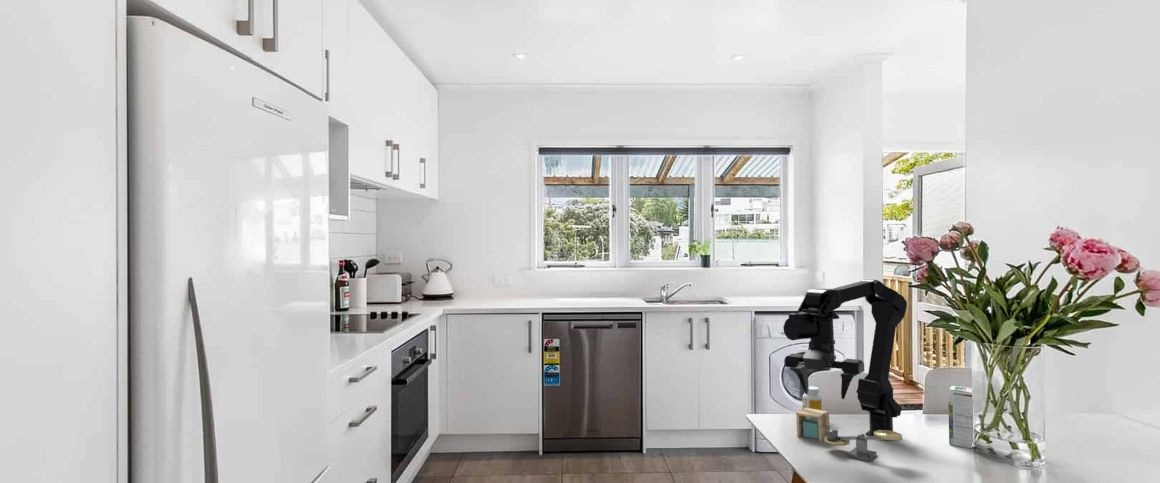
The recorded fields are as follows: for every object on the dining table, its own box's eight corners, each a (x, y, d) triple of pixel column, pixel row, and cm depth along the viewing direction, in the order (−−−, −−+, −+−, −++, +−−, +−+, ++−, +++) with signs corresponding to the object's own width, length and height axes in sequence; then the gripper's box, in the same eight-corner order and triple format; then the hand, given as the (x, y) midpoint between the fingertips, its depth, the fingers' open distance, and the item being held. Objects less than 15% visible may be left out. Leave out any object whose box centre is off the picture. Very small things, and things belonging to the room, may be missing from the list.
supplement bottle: (799, 419, 170) (798, 387, 170) (808, 415, 173) (807, 384, 173) (816, 423, 165) (815, 390, 166) (825, 419, 169) (824, 387, 169)
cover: (806, 430, 159) (805, 407, 159) (829, 435, 154) (829, 411, 154) (797, 436, 154) (796, 412, 154) (821, 441, 150) (820, 416, 150)
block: (809, 432, 157) (808, 418, 157) (823, 435, 154) (823, 421, 154) (803, 436, 154) (802, 421, 154) (818, 439, 151) (817, 424, 151)
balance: (829, 444, 146) (828, 419, 147) (906, 461, 134) (905, 433, 134) (820, 450, 142) (819, 424, 142) (899, 468, 130) (898, 439, 130)
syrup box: (951, 439, 149) (949, 385, 150) (978, 443, 146) (976, 388, 146) (949, 445, 145) (947, 389, 145) (976, 449, 141) (974, 392, 141)
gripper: (775, 338, 147) (777, 397, 146) (850, 344, 134) (853, 409, 134) (790, 332, 155) (793, 389, 155) (863, 337, 143) (866, 398, 142)
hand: (824, 396), depth 146 cm, fingers open, 9 cm apart
